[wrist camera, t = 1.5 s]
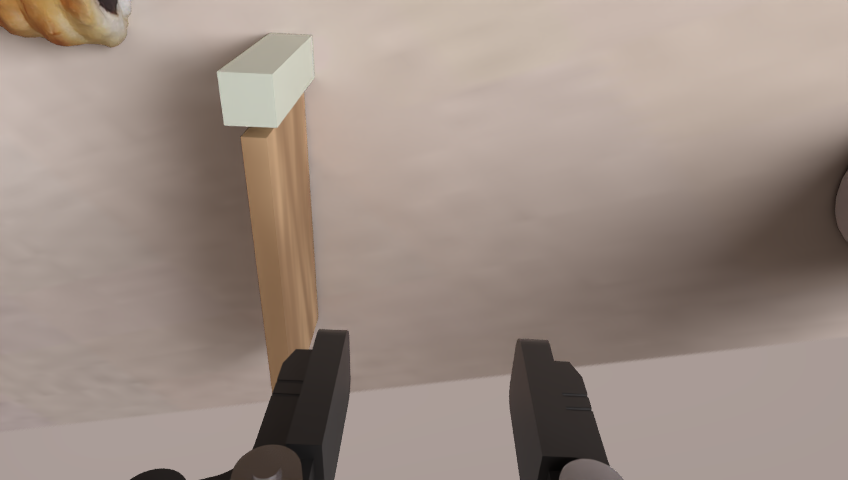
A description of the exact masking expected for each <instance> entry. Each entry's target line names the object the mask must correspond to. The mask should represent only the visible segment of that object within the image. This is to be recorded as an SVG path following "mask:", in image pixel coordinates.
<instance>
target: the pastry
mask: <svg viewBox="0 0 848 480" xmlns="http://www.w3.org/2000/svg"><path fill="white" fill-rule="evenodd" d="M130 14H131V0H0V26H1V27H4V28H5V29H6V30H7V31H8V32H9V33H11V34H14V35H18V36H22V37H33V38H35V37H43V38H46V39H47V40H48V41H50V42H52V43H54V44H56V45H61V46H74V45H81V44H102V45H105V46H108V47H115V46H117V45H119V44H121V43H122V41H123V40H124V39H125V38H126V35H127V27H128V17H129V15H130Z"/></svg>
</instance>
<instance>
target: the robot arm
mask: <svg viewBox="0 0 848 480" xmlns="http://www.w3.org/2000/svg"><path fill="white" fill-rule="evenodd" d="M835 215H836V220H837V225H838V228H839V230H840V232H841V233H842V235H843V237H844V239H845V240H846V241H848V170H847V171H846V173H845V175H844V177H843V179H842V181H841V184H840V187H839V190H838V193H837V196H836V206H835ZM349 394H350V346H349V332H348V331H347V330H325V329H319V330H318V332H317V336H316V339H315V343H314V346H313V350H309V349H295V351H294V352H293V353H292V354H291V355H290V356H289V357H288V358H287V359H286V360H285V361H284V362H283V363H282V366H281V369H280V372H279V375H278V378H277V383H276V384H275V387H274V390H273V392H272V396H271V398H270V401H269V404H268V407H267V410H266V413H265V416H264V419H263V422H262V425H261V427H260V430H259V433H258V436H257V439H256V442H255V445H254V447H253V449H252V450H251V451H249V452H248V453H246V454H245V455H244V456H242V457H241V458H240V459H239V461H238V462H237V463H236V465H235V466H234V468H233V469H232V470H230V471H228V472H226V473H223V474H221V475H218V476H214V477H209V478H205V479H201V480H334V477H335V472H336V467H337V462H338V456H339V451H340V445H341V440H342V434H343V428H344V423H345V418H346V412H347V407H348V401H349ZM509 404H510V413H511V420H512V427H513V434H514V441H515V448H516V455H517V462H518V469H519V476H520V480H623V478H622V477H621V476H620V475H619V474H618V473H617V472H616V471H615V470H614V469H613V468H611V467H610V465H609V463H608V460H607V457H606V454H605V450H604V447H603V444H602V441H601V437H600V434H599V431H598V427H597V424H596V421H595V418H594V414H593V412H592V411H591V405H590V401H589V398H588V397H587V392H586V388H585V385H584V382H583V379H582V377H581V375H580V374H579V373H578V372H577V371H576V369H575V368H574V367H573V366H572V365H571V364H570V362H560V361H554V359H553V356H552V352H551V348H550V344H549V342H548V340H534V339H518V340H517V343H516V349H515V355H514V362H513V368H512V374H511V381H510V390H509ZM130 480H186V479H185V478H184V477H183V475H181V474H180V473H179V472H177V471H175V470H171V469H154V470H149V471H147V472H143V473H141V474H139V475H137V476H135V477H133V478H132V479H130Z"/></svg>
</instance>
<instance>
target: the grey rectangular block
mask: <svg viewBox="0 0 848 480" xmlns="http://www.w3.org/2000/svg"><path fill="white" fill-rule="evenodd" d="M217 77H218V85H219V92H220V99H221V107H222V114H223V121H224V125H225V126H246V127H268V128H278V126H279V125H280V123H281V122H282V121H283V119H284V118H285V117H286V115H287V114H288V113H289V111H290V110H291V109H292V107H293V106H294V105H295V103H296V102H297V101H298V99H299V98H300V96H301V95H302V94H303V92H304V91H305V90H306V88H307V87H308V86H309V84H310V83H311V82H312V80H313V79H314V60H313V42H312V35H301V34H279V33H269V34H268V35H266V36H265V37H264V38H262V39H261V40H260V41H258V42H257V43H255V44H254V45H253V46H251V47H250V48H249V49H247V50H246V51H244V52H243V53H242V54H240V55H239V56H238V57H236V58H235V59H233V60H232V61H231V62H229V63H228V64H227V65H225V66H224V67H222V68H221V69H220V70H218V71H217Z"/></svg>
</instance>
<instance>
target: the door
mask: <svg viewBox="0 0 848 480" xmlns="http://www.w3.org/2000/svg"><path fill="white" fill-rule="evenodd" d="M241 145H242V153H243V161H244V169H245V177H246V185H247V193H248V201H249V209H250V217H251V225H252V233H253V241H254V249H255V257H256V265H257V273H258V282H259V290H260V298H261V306H262V314H263V322H264V330H265V338H266V346H267V354H268V362H269V370H270V378H271V386H272V392H273V390H274V387H275V384H276V383H277V378H278V375H279V372H280V369H281V366H282V363H283V362H284V361H285V360H286V359H287V358H288V357H289V356H290V355H291V354H292V353H293V352H294V351H295V349H309V347H310V344H311V340H312V337H313V333H314V330H315V327H316V323H317V320H318V306H317V290H316V274H315V259H314V243H313V227H312V212H311V196H310V180H309V165H308V149H307V134H306V118H305V102H304V92H303V94H302V95H301V96H300V98H299V99H298V101H297V102H296V103H295V105H294V106H293V107H292V109H291V110H290V111H289V113H288V114H287V115H286V117H285V118H284V119H283V121H282V122H281V123H280V125H279V126H278V128H268V127H249V128H248V129H247V130H246V131H245V132H244V134H243V135H242V136H241Z"/></svg>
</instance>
